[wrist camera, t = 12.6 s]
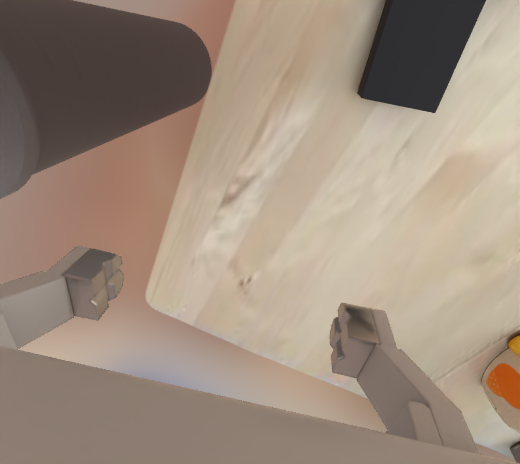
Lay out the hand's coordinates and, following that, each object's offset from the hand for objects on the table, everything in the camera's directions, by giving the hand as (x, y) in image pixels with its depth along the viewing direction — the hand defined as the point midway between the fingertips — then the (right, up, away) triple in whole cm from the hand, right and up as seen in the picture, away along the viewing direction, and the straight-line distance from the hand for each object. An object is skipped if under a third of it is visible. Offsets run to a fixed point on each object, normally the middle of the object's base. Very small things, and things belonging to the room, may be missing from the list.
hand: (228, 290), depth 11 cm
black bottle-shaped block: (+14, +18, +13) cm, 26 cm away
